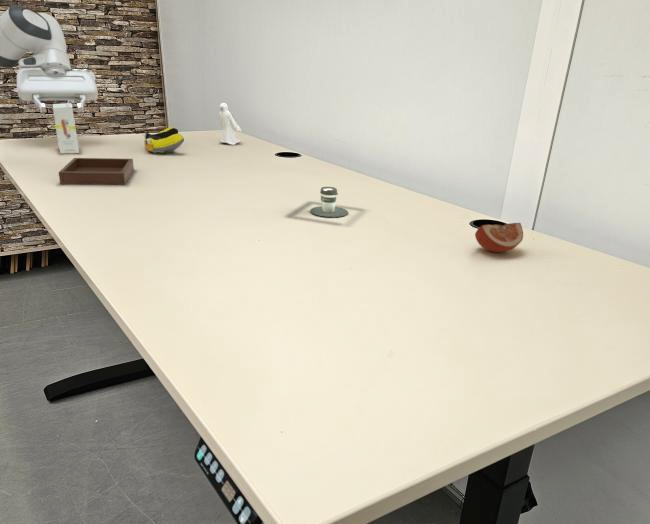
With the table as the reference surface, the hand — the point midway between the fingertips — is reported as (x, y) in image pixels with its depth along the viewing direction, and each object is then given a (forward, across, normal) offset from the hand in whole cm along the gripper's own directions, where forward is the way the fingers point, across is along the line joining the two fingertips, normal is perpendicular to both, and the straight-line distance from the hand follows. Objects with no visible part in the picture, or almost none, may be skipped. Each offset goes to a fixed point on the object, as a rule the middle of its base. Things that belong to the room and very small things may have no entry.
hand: (62, 111), depth 160 cm
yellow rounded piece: (+13, -25, -1) cm, 28 cm away
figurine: (+7, -47, -7) cm, 48 cm away
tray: (+32, -4, +19) cm, 38 cm away
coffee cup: (+62, -42, +48) cm, 89 cm away
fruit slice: (+84, -60, +70) cm, 125 cm away
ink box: (+10, 0, -4) cm, 11 cm away
